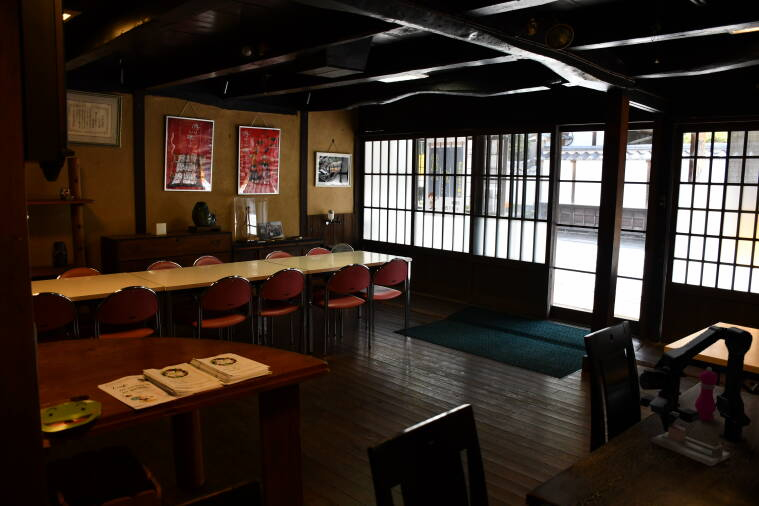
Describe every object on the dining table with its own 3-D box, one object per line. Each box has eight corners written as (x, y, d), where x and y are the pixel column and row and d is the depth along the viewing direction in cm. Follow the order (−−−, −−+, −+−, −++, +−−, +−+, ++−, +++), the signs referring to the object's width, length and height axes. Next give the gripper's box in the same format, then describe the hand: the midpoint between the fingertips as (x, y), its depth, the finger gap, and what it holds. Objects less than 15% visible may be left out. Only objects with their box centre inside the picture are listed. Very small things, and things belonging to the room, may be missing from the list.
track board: (670, 434, 211) (672, 422, 210) (729, 457, 194) (730, 444, 194) (651, 442, 204) (652, 429, 203) (710, 466, 187) (712, 453, 187)
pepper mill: (717, 422, 223) (723, 371, 220) (697, 419, 224) (702, 369, 222) (711, 414, 230) (716, 365, 228) (691, 412, 231) (696, 363, 229)
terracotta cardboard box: (674, 435, 205) (675, 424, 205) (685, 440, 202) (686, 428, 202) (667, 438, 203) (668, 427, 203) (679, 442, 200) (680, 431, 199)
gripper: (632, 384, 207) (628, 427, 209) (684, 402, 191) (679, 447, 193) (650, 379, 213) (646, 420, 215) (702, 395, 198) (697, 440, 200)
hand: (666, 431), depth 206 cm, fingers closed
